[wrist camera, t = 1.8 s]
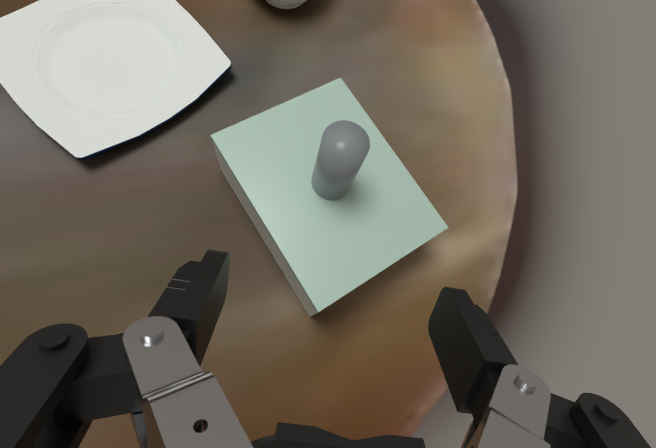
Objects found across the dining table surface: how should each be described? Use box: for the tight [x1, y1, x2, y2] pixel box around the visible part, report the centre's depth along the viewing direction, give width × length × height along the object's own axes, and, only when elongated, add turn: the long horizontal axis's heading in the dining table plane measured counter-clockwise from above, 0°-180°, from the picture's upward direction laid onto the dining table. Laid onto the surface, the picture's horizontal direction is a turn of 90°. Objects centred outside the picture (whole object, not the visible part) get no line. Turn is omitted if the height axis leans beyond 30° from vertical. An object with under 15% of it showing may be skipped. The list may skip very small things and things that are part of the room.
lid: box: [211, 78, 448, 313], centre depth 30 cm, size 18×14×9 cm
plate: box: [0, 0, 231, 160], centre depth 39 cm, size 20×20×3 cm
